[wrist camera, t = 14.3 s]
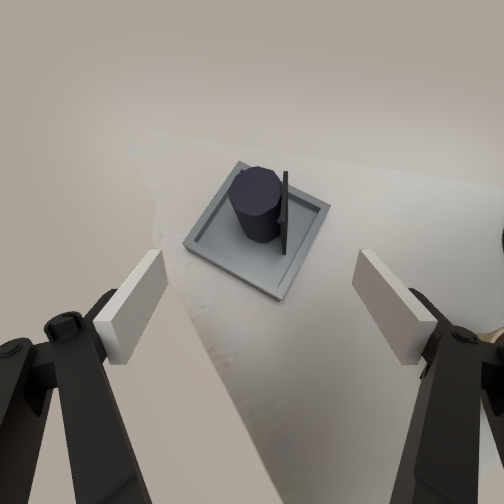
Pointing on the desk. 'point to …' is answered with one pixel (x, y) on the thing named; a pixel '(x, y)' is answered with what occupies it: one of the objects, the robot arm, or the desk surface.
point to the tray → (252, 252)
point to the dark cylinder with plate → (261, 204)
